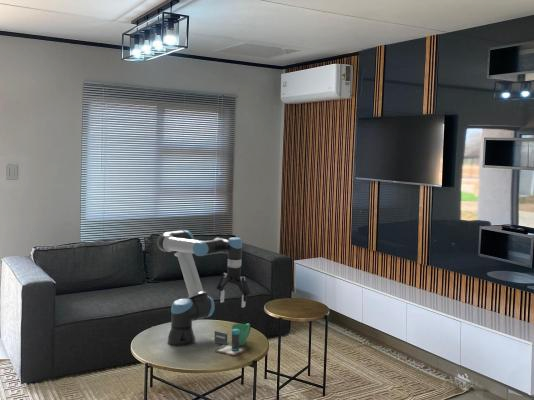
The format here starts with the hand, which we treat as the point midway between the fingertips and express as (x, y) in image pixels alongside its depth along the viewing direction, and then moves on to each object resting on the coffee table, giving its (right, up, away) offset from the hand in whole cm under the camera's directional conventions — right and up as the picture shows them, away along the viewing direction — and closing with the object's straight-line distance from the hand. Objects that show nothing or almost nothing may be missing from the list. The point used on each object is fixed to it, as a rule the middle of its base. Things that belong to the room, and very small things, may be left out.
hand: (232, 304), depth 310 cm
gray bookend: (-7, -24, +11) cm, 27 cm away
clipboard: (-1, -25, -1) cm, 25 cm away
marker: (+2, -24, -1) cm, 24 cm away
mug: (+5, -24, +13) cm, 28 cm away
